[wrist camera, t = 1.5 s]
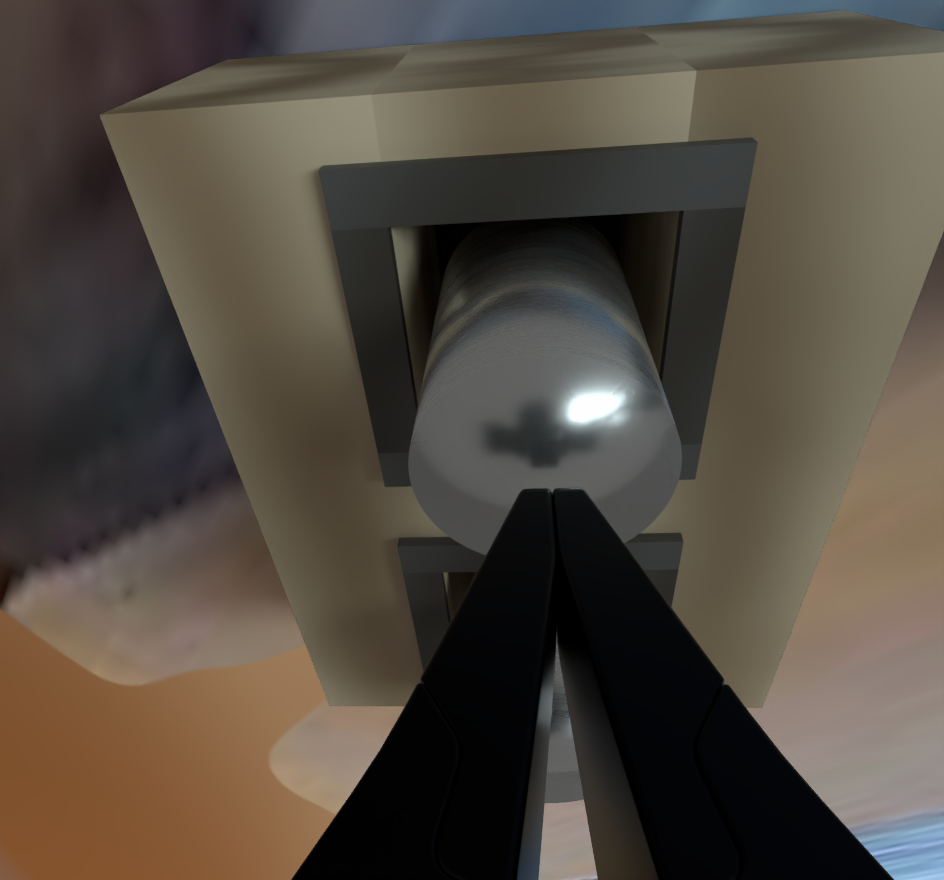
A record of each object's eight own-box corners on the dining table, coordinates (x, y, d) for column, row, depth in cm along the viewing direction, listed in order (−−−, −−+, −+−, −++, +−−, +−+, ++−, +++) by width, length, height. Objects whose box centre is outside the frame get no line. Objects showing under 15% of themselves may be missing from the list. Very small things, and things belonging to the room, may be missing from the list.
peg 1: (632, 201, 13) (700, 350, 8) (618, 374, 15) (665, 562, 11) (431, 213, 13) (389, 362, 8) (449, 380, 15) (424, 566, 11)
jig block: (844, 10, 14) (1026, 49, 9) (714, 562, 25) (765, 716, 20) (226, 59, 15) (89, 119, 10) (361, 567, 26) (327, 714, 21)
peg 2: (606, 524, 18) (639, 721, 14) (600, 612, 21) (625, 804, 16) (466, 527, 19) (451, 720, 14) (475, 613, 21) (466, 801, 16)
